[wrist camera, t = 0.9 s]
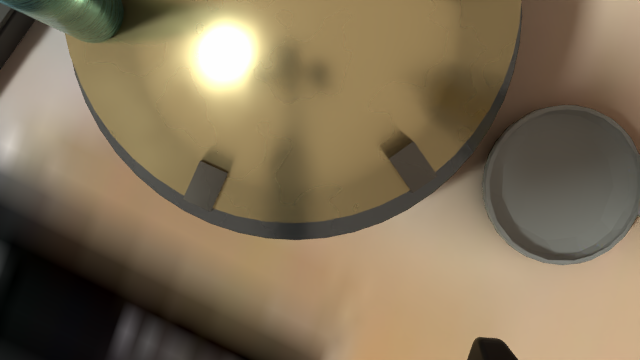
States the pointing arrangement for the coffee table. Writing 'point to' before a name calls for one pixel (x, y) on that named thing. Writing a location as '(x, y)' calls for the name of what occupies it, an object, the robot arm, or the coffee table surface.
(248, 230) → the dark grey round disc
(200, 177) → the tan round piece
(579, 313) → the coffee table surface
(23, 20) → the picture frame
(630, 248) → the coffee table surface
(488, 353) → the robot arm
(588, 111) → the pocket watch
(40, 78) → the coffee table surface
